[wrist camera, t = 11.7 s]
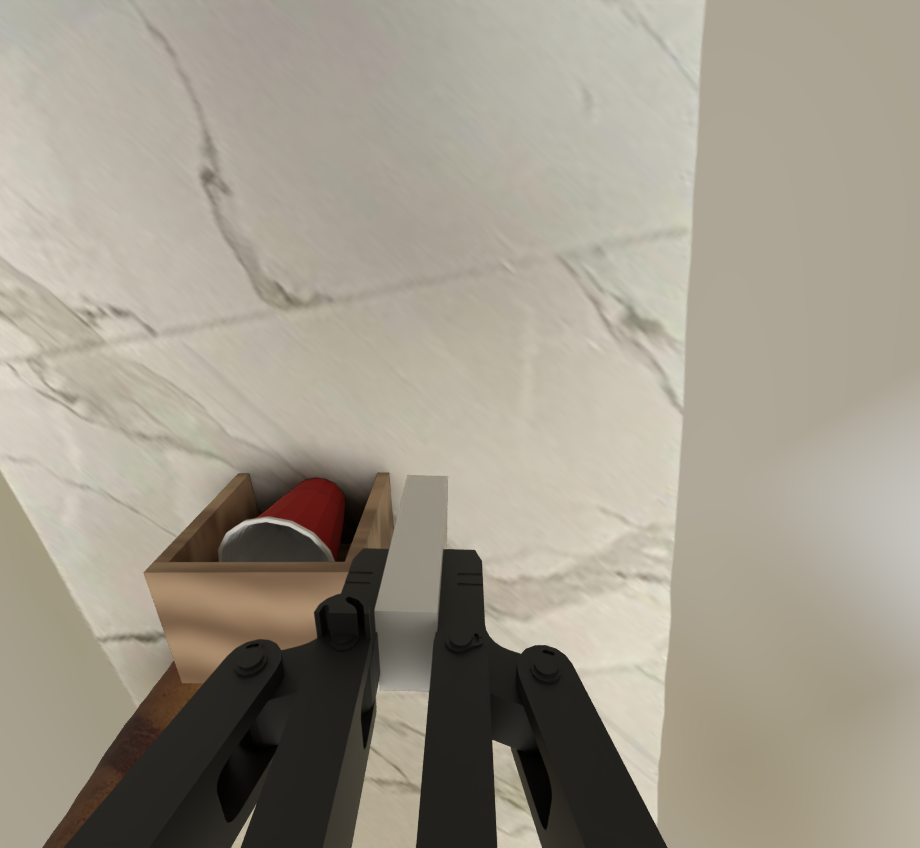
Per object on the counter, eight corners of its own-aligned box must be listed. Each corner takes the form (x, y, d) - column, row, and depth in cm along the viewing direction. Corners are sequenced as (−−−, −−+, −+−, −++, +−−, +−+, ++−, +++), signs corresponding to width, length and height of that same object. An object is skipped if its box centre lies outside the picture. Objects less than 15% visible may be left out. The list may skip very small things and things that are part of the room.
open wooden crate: (238, 473, 49) (143, 572, 35) (389, 472, 49) (356, 572, 35) (258, 562, 54) (182, 683, 39) (396, 562, 54) (370, 683, 39)
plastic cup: (259, 457, 49) (198, 522, 38) (360, 454, 48) (328, 519, 37) (278, 541, 53) (228, 622, 42) (371, 539, 52) (345, 620, 41)
